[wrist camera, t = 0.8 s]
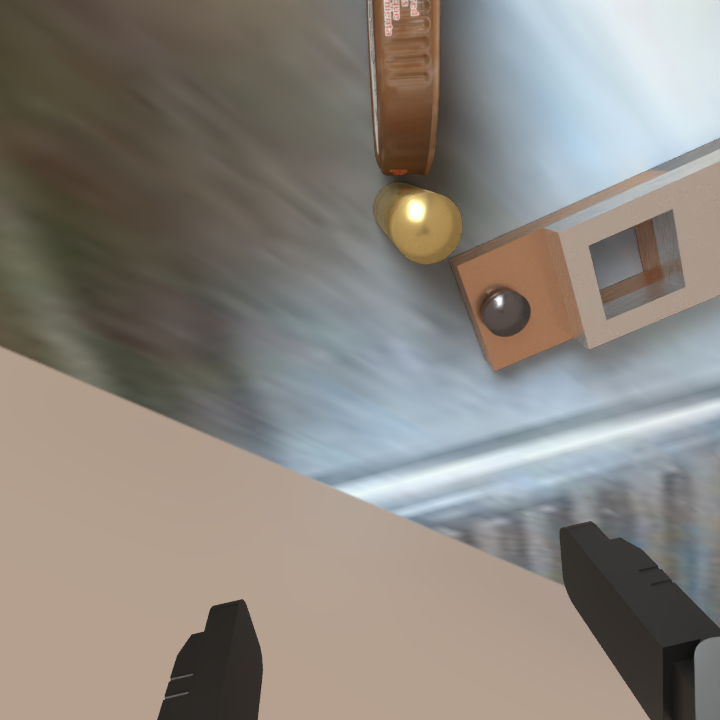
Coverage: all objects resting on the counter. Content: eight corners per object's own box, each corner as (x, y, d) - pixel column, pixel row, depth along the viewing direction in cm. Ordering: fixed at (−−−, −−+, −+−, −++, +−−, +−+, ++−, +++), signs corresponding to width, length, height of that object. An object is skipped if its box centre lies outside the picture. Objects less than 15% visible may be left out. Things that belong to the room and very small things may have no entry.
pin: (365, 195, 29) (383, 211, 21) (411, 173, 29) (449, 180, 20) (384, 241, 30) (409, 275, 22) (429, 221, 30) (471, 246, 21)
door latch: (448, 259, 31) (471, 277, 26) (735, 131, 29) (813, 126, 24) (484, 359, 34) (511, 391, 29) (747, 248, 32) (818, 263, 27)
